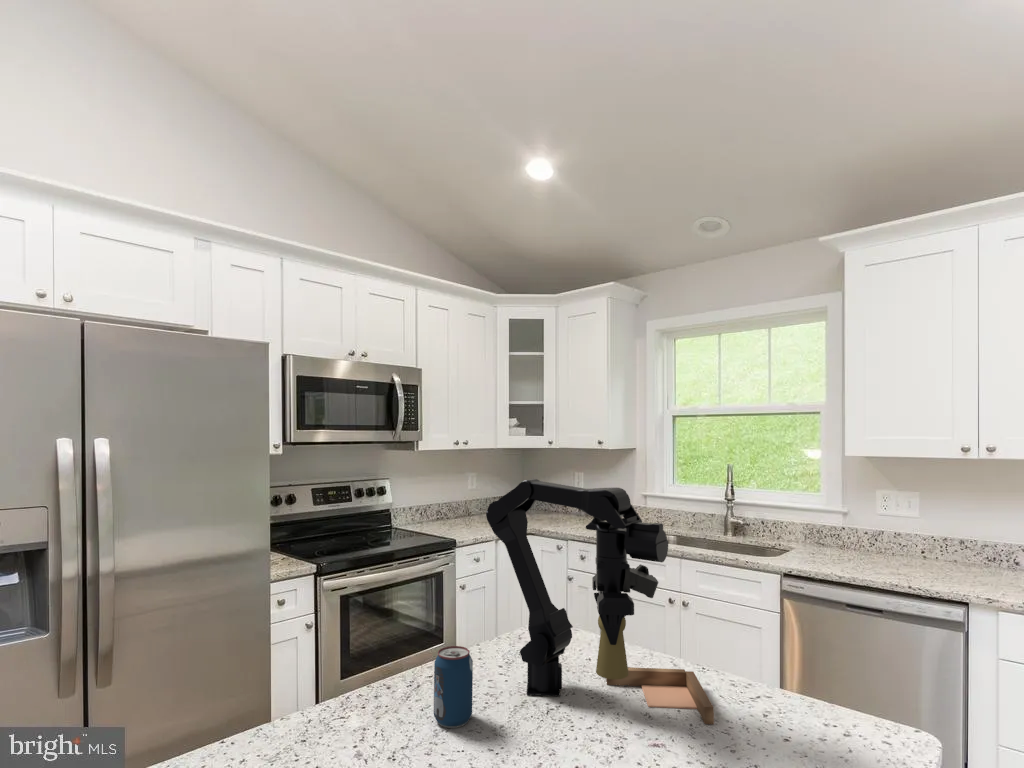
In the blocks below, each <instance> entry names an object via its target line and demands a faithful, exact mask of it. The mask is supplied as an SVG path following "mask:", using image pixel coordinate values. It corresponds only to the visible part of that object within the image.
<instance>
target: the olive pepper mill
mask: <svg viewBox="0 0 1024 768" xmlns="http://www.w3.org/2000/svg"><path fill="white" fill-rule="evenodd" d="M597 624H598V628H599V629H600V635H599V636H600V637H599V642H598V643H599V644H598V653H597V661H596V666H595V667H596V668H595V673H596V675H598V676H599V677H601V678H603V679H606V678H607V679H623V678H626V677H627V676H628V674H629V673H628V666H629V665H628V659H627V653H626V646H625V645H626V644H625V637H624V631H625V629H626V625H627V620H626V616H625V617H624V618H623V619H622V622H621V626H620V631H619V635H618V639H617V644H616V645H611V644H610V642H609V640H608V637H607V634H606V632H605V629H604V626H603V624H602V621H601V618H600V616H599V615H598V618H597Z"/></svg>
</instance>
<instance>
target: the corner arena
mask: <svg viewBox="0 0 1024 768" xmlns="http://www.w3.org/2000/svg"><path fill="white" fill-rule="evenodd" d="M628 673H629V674H628V676H627V677H626V678H623V679H607V678H605V679H606V680H605V681H606V682H607V683H606V686H624V685H628V686H630V687H631V686H632V687H634V686H635V687H641V689H642V691H643V695H644V697H645V700H646V703H647V706H648V708H660V709H662V708H665V709H688V710H689V709H690V710H697V713H698V714H699V715H700V718H701V720H702V722H703V723H704V725H715V717H714V716H715V715H714V711H715V709H714V708H715V707H714V705H713V703H712V702H711V700H710V698H709V697H708V695H707V693H706V691H705V689H704V688H703V686H702V684H701V683H700V681H699V679H698V677H697V675H696V673H695V672H694V671H690V670H689V671H688V670H687V671H686V669H684V668H682V669H681V668H680V669H679V668H658V667H657V668H656V667H628Z"/></svg>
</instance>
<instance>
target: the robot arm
mask: <svg viewBox="0 0 1024 768" xmlns="http://www.w3.org/2000/svg"><path fill="white" fill-rule="evenodd" d="M536 501H538V502H542V503H548V504H553V505H558V506H563V507H569V508H574V509H577V510H580V511H581V512H582V511H583V513H585V514H586V515H588V516H590V517H593V518H592V520H591V521H590V522H588V524H586V526H585V529H586V530H590V531H595V535H596V537H595V541H596V544H595V545H596V548H595V549H596V551H595V552H596V554H595V555H596V556H595V568H596V569H595V572H596V574H594V576H593V577H592V578H591V579H592V583H591V584H592V590H593V591H597V592H594V593H593V596H594V599H595V603H596V605H597V606H596V609H597V613H598V617H599V616H600V618H601V621H602V624H603V626H604V629H605V632H606V634H607V637H608V640H609V642H610V644H611V645H616V644H617V639H618V635H619V631H620V626H621V622H622V619H623V618H624V617H625V618H626V616H634V615H635V603H634V600H633V598H632V597H631V596H630V594H631V590H632V591H634V592H637V593H639V594H642V595H645V597H647V598H649V599H653V598H654V596H655V594H656V591H657V588H658V585H659V581H658V579H657V578H656V577H655V576H653V575H652V574H650V572H649V568H648V566H646V565H644V564H639V565H637V566H636V568H634V567H631V566H630V563H628V559H627V558H628V556H627V555H629V557H630V558H631V559H634V560H640V561H641V560H642V561H647V562H648V561H649V562H656V563H664V562H665V560H666V558H667V556H668V552H669V540H668V538H667V534H666V532H665V530H664V523H661V522H654V523H649V522H643V520H642V519H641V517H640V515H639V514H638V513H637V510H635V508H634V507H633V505H632V504H631V499H630V496H629V494H628V493H627V491H626V490H625V489H624V488H621V487H598V488H584V487H578V486H571V485H566V484H561V483H560V484H559V483H554V482H548V481H542V480H540V479H537V478H533V479H532V478H531V479H525V480H523V481H521V482H519V483H518V485H517V486H515V487H514V488H513V489H511V490H510V491H509V492H507V493H506V494H504V495H503V496H501V497H500V498H498V500H494V501H491V503H490V504H489V505H488V507H487V511H486V512H485V516H486V521H487V522H488V524H489V526H490V529H491V530H492V532H493V534H494V535H495V536H496V537H497V538H498V539H499V540H500V541H501V542H502V543H503V544H504V546H505V549H506V551H507V554H508V557H509V559H510V562H511V565H512V568H513V570H514V574H515V576H516V578H517V579H516V580H517V582H518V584H519V587H520V589H521V592H522V595H523V598H524V600H525V603H526V607H527V609H528V613H529V616H528V635H529V639H530V640H529V641H528V642H527V643H526V644H525V645H524V646H522V648H521V649H520V650H519V653H520V657H521V661H522V662H524V663H527V682H526V683H527V686H526V695H527V696H544V697H545V696H548V697H559V696H560V694H561V693H560V690H562V689H563V666H562V665H563V664H562V663H561V662H560V659H559V658H560V655H561V656H562V655H564V653H565V650H566V648H567V647H568V646H569V645H570V644H571V641H572V639H573V633H572V628H573V627H574V626H573V625H572V623H571V622H570V620H569V617H568V613H567V610H566V608H564V607H563V608H560V609H558V608H557V607H556V606H555V605H554V603H553V602H552V600H551V597H550V594H549V592H548V589H547V588H546V587H547V586H546V584H545V582H544V579H543V577H542V573H541V571H540V568H539V566H538V563H537V560H536V558H535V555H534V552H533V549H532V547H531V544H530V541H529V539H528V536H527V535H528V523H529V521H528V518H527V513H528V512H529V511H530V510H531V509H532V508H533V507H534V505H535V503H536ZM622 517H623V518H622ZM628 593H630V594H628Z"/></svg>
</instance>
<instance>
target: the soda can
mask: <svg viewBox="0 0 1024 768" xmlns="http://www.w3.org/2000/svg"><path fill="white" fill-rule="evenodd" d="M473 662H474V660H473V657H472V656H471V654H470V650H469V649H468V648H467V647H466V646H465V647H464V646H461V645H459V646H458V645H450V646H444V647H442V648H440V649H439V650H438V651H437V656H436V657H435V660H434V665H433V666H434V670H433V671H434V672H433V717H434V718H435V720H436V722H437V724H438V725H439V726H441V727H443V728H447V729H448V728H449V729H455V728H461V727H463V726H465V725H466V724H468V722H469V720H470V719H471V717H472V715H473V679H474V678H473V673H474V672H473V669H474V668H473V667H474V664H473Z"/></svg>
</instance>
